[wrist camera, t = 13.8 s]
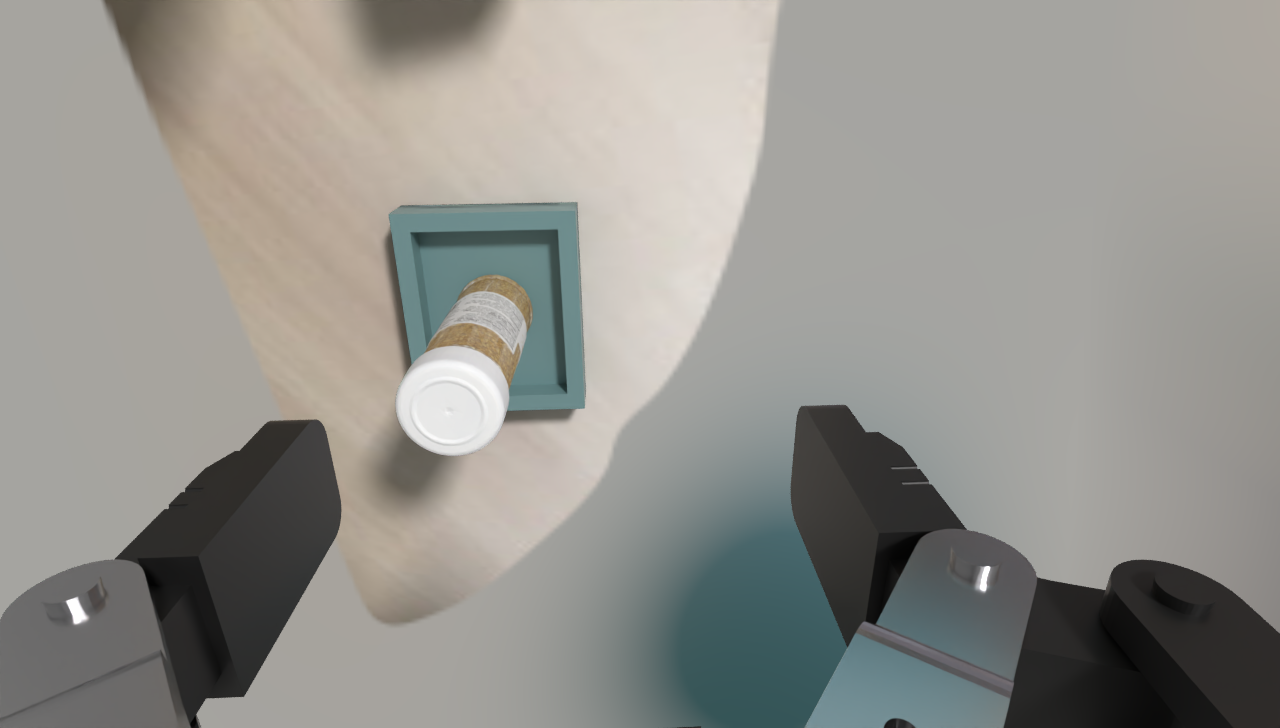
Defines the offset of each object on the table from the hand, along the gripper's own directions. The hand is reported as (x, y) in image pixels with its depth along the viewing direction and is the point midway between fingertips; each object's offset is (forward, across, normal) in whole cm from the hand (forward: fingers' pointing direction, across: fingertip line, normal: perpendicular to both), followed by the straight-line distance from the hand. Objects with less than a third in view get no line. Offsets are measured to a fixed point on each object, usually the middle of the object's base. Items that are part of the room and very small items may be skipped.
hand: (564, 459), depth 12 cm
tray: (+30, +6, +7) cm, 31 cm away
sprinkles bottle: (+29, +6, +7) cm, 31 cm away
